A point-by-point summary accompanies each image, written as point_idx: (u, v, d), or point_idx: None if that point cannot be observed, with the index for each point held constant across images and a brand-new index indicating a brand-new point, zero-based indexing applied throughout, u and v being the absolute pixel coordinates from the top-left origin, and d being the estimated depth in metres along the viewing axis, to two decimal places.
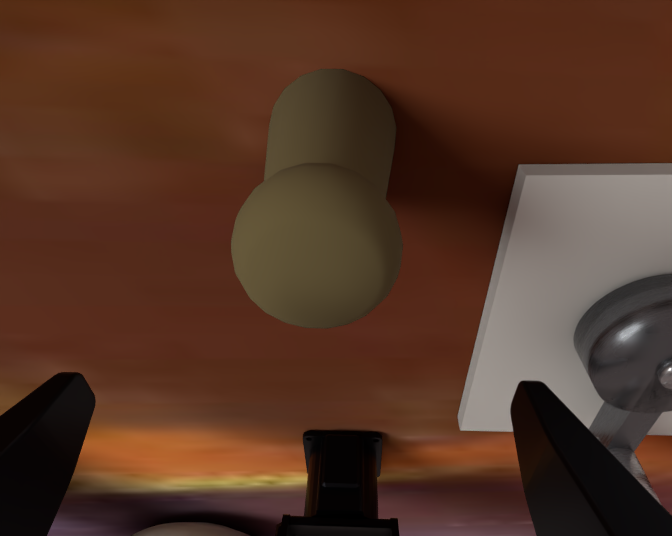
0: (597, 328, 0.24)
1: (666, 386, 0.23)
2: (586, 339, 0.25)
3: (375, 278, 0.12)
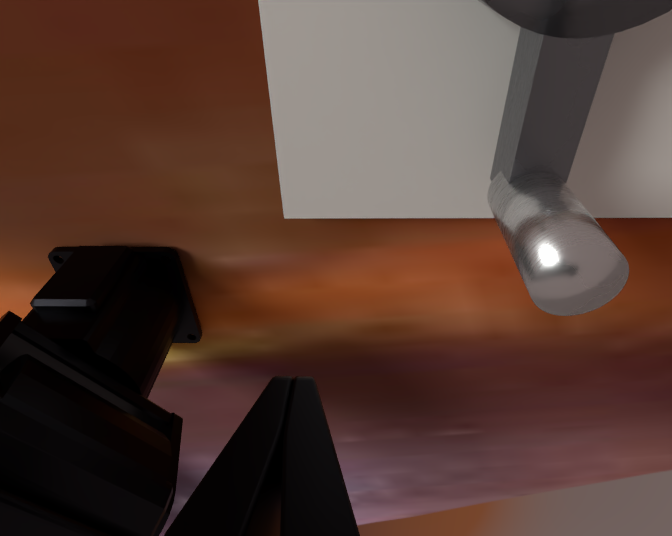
0: None
1: None
2: None
3: None
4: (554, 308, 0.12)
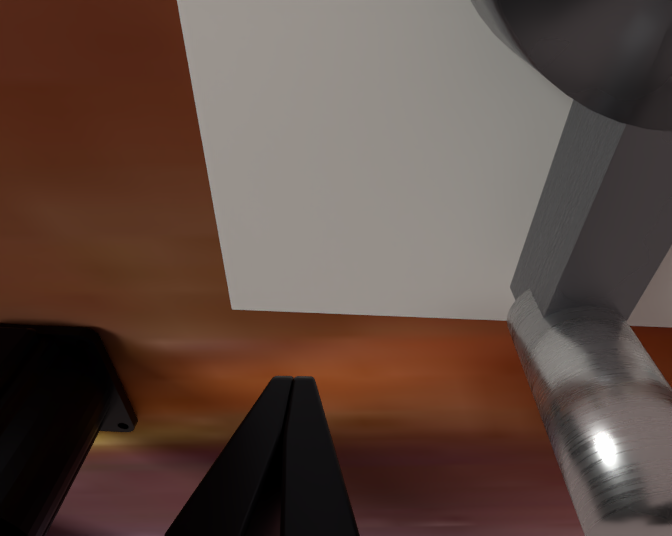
0: None
1: None
2: None
3: None
4: None
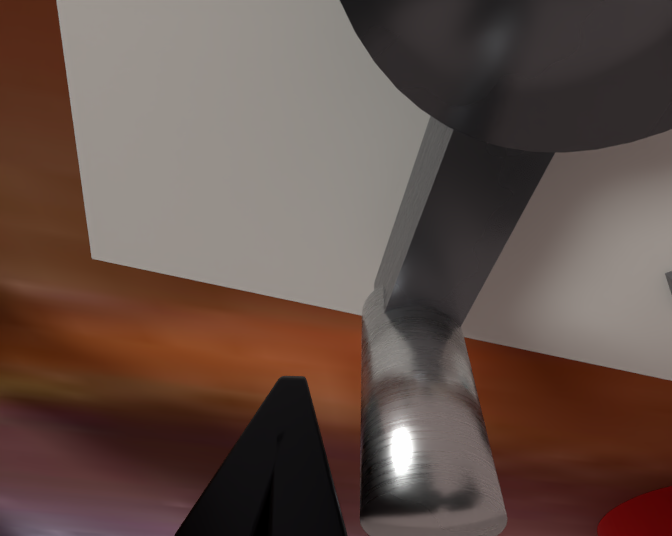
0: None
1: None
2: None
3: None
4: None
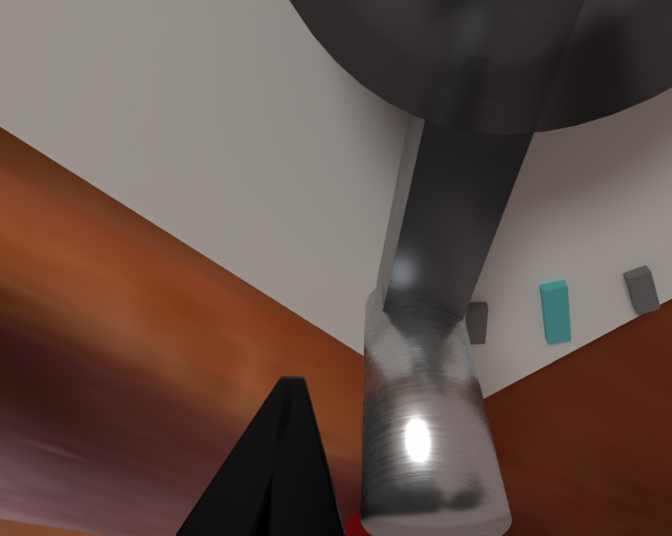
0: None
1: None
2: None
3: None
4: None
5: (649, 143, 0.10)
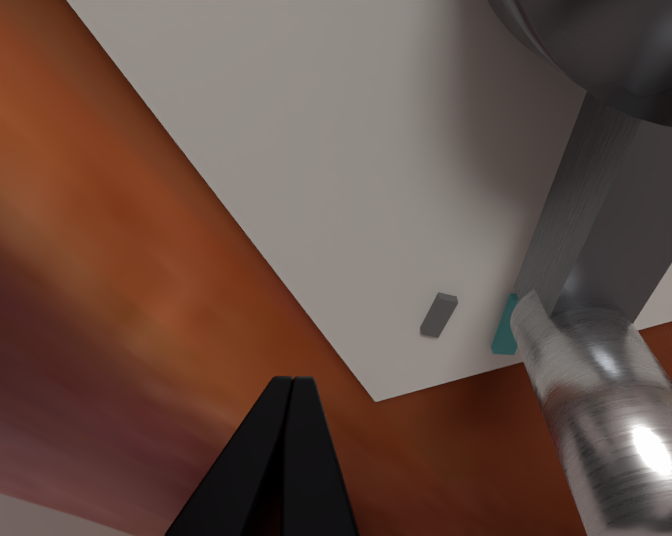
0: None
1: None
2: None
3: None
4: None
5: None
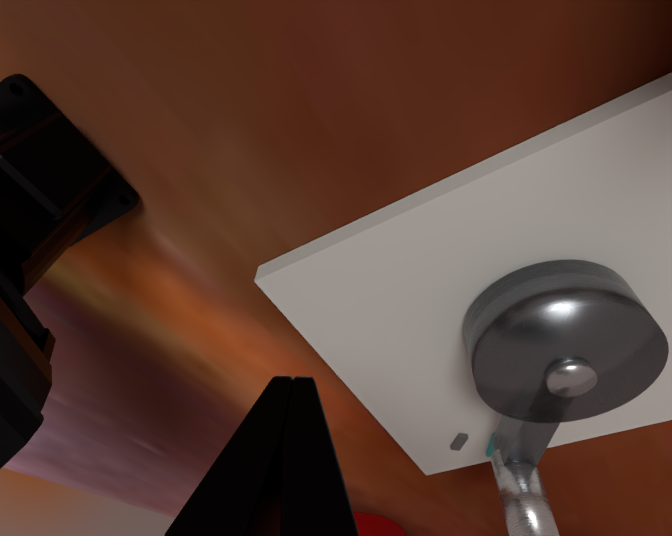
0: (479, 322, 0.20)
1: (555, 392, 0.20)
2: (470, 335, 0.21)
3: None
4: None
5: None
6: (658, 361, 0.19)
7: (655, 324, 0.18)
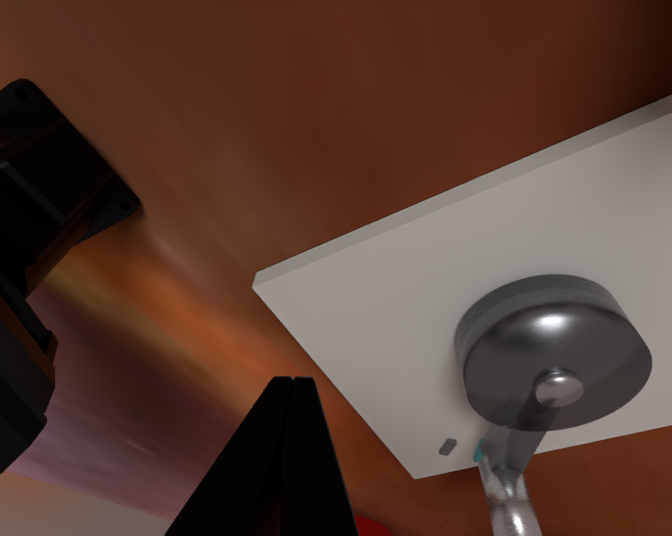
0: (471, 333, 0.21)
1: (543, 403, 0.20)
2: (462, 345, 0.21)
3: None
4: None
5: None
6: (642, 374, 0.20)
7: (640, 339, 0.18)
